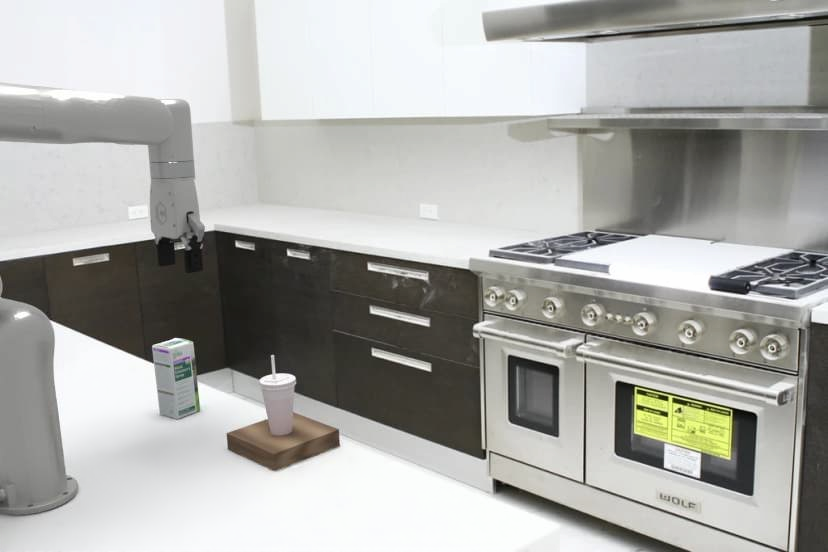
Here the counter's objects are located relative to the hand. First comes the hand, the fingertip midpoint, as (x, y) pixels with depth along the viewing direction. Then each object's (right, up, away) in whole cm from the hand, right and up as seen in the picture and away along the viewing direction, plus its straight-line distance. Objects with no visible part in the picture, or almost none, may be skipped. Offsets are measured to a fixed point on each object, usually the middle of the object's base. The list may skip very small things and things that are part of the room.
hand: (180, 268), depth 158 cm
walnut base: (+18, -32, -1) cm, 37 cm away
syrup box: (-5, -29, +18) cm, 34 cm away
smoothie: (+18, -29, -1) cm, 34 cm away
